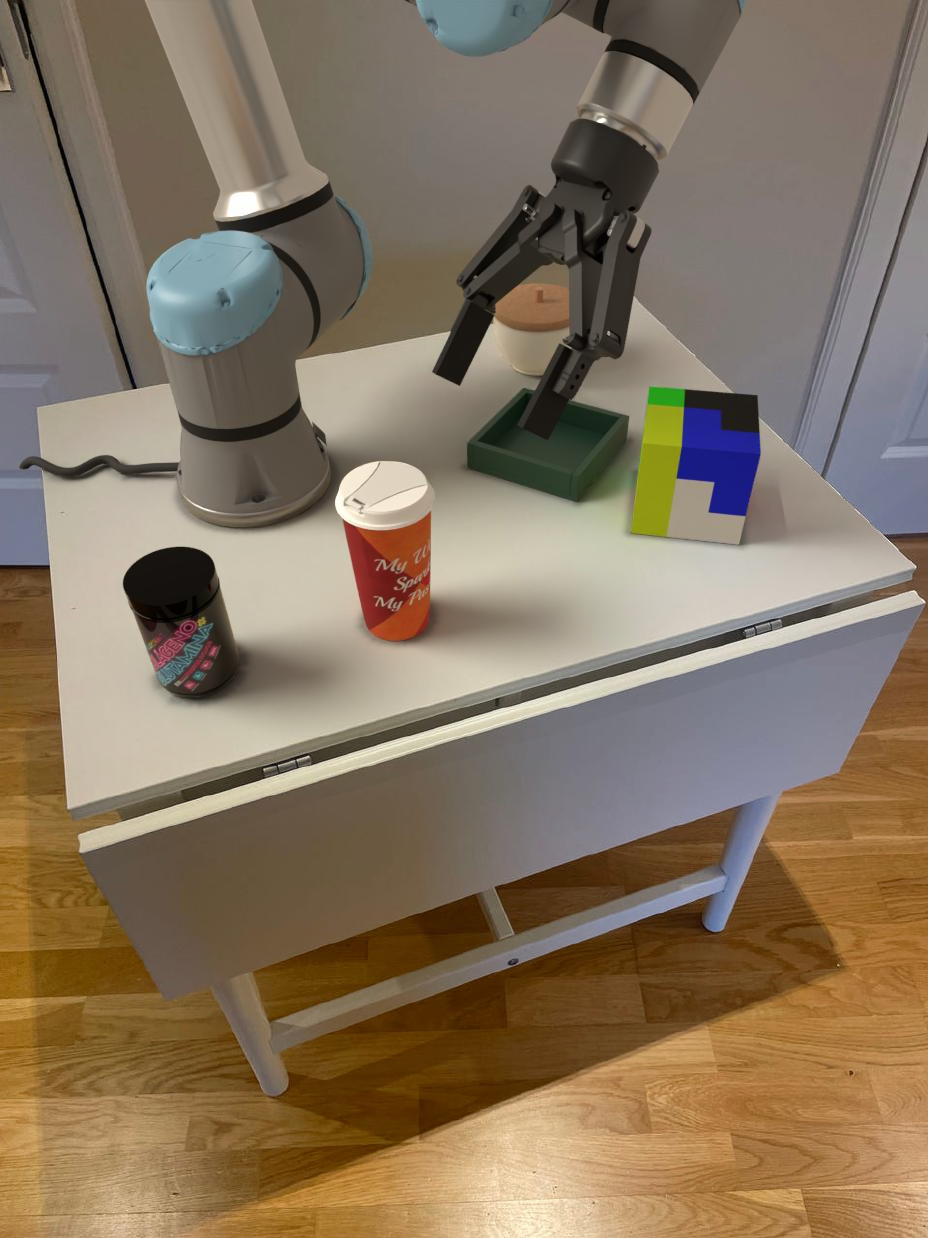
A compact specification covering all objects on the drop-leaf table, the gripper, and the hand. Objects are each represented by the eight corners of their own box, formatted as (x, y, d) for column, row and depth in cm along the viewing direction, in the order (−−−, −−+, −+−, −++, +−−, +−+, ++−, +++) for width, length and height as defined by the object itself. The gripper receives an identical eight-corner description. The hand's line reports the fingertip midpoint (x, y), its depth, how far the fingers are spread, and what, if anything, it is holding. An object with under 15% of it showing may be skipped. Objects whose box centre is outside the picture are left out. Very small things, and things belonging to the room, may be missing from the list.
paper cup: (398, 663, 75) (384, 529, 65) (334, 622, 78) (312, 489, 69) (461, 613, 79) (456, 479, 69) (397, 576, 82) (384, 444, 73)
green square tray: (467, 467, 95) (466, 442, 93) (522, 411, 103) (523, 387, 100) (577, 502, 90) (579, 476, 88) (626, 440, 98) (629, 415, 96)
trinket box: (475, 370, 110) (474, 294, 103) (522, 335, 116) (524, 262, 109) (551, 394, 105) (555, 317, 99) (596, 356, 111) (602, 282, 105)
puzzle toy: (738, 544, 85) (760, 453, 78) (630, 533, 86) (642, 442, 79) (737, 483, 92) (757, 394, 85) (637, 473, 93) (649, 386, 87)
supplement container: (140, 678, 74) (103, 582, 67) (203, 630, 78) (174, 535, 71) (196, 715, 71) (163, 618, 64) (259, 663, 75) (234, 567, 68)
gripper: (769, 190, 60) (611, 475, 66) (557, 148, 78) (447, 375, 84) (703, 129, 56) (539, 442, 61) (494, 100, 74) (382, 344, 79)
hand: (486, 404), depth 73 cm, fingers open, 13 cm apart
